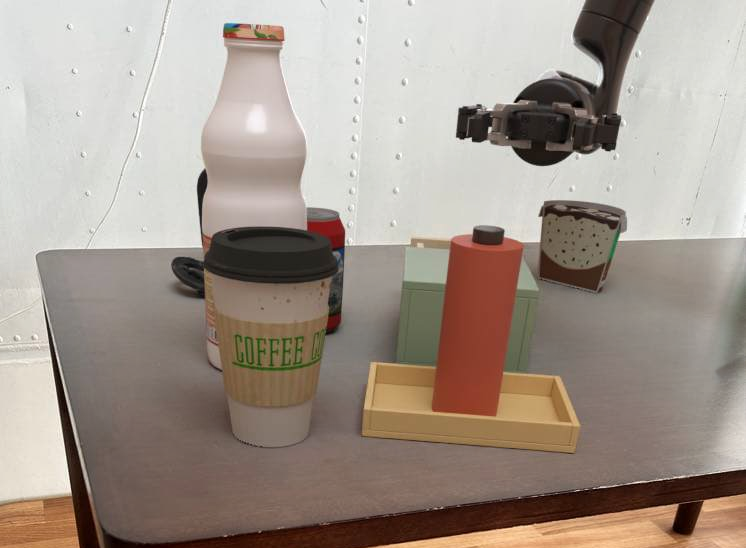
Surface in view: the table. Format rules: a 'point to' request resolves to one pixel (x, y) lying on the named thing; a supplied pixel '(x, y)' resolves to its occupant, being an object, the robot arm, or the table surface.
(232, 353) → the coffee cup
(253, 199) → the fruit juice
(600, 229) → the food container
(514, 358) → the cabinet
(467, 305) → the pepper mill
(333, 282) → the beverage can
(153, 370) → the table surface
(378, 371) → the tray
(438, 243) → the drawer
